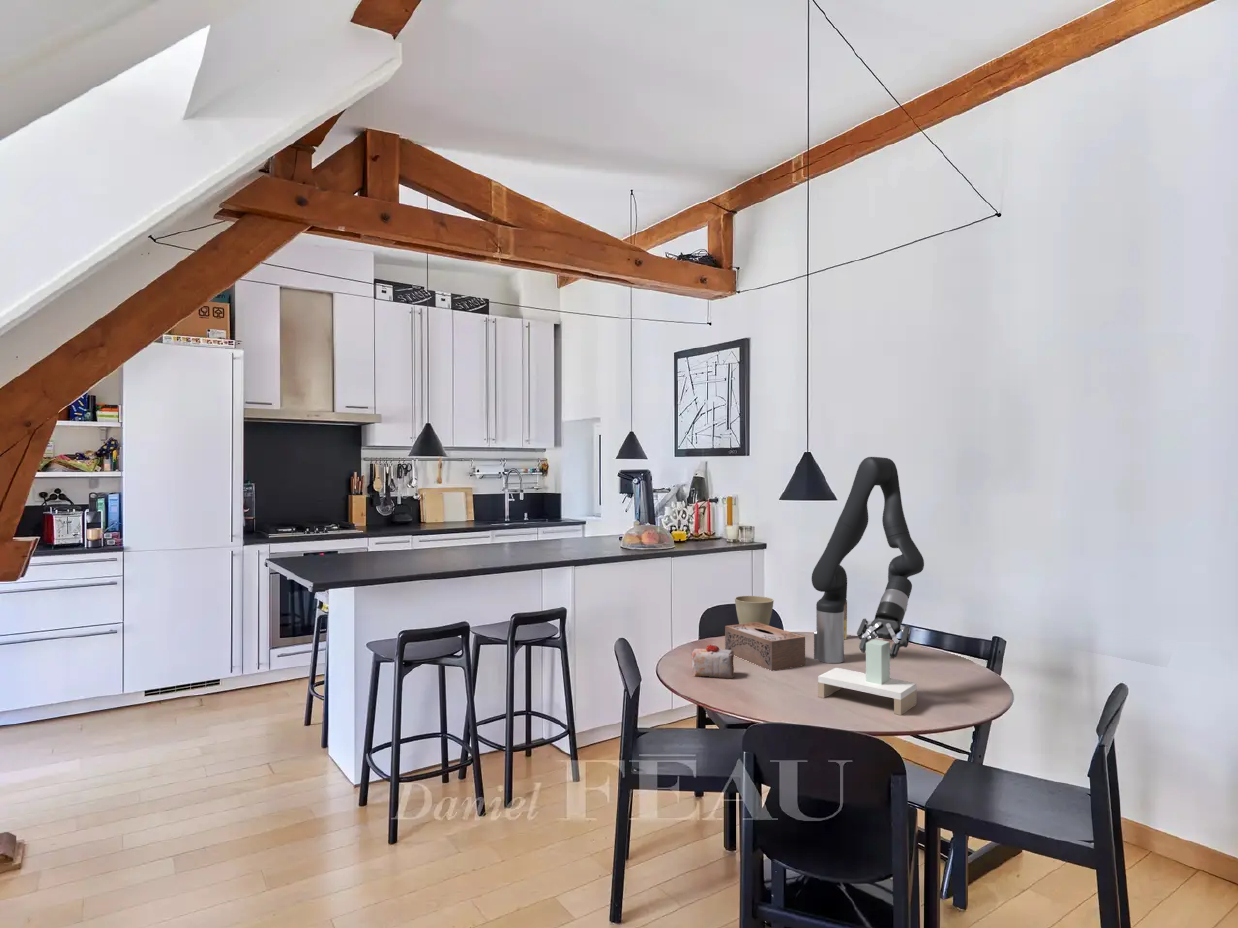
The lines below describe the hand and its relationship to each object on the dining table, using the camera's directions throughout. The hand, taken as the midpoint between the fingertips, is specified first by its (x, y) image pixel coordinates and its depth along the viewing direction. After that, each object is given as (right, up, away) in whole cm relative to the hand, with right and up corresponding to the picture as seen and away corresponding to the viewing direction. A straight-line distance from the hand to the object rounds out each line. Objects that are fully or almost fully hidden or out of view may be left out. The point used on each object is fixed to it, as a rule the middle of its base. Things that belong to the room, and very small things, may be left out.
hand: (876, 653), depth 207 cm
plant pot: (-21, -14, +74) cm, 78 cm away
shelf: (-3, -14, +1) cm, 14 cm away
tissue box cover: (-23, -14, +46) cm, 53 cm away
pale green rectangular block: (0, -8, 0) cm, 8 cm away
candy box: (+10, -14, +75) cm, 77 cm away
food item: (-44, -14, +26) cm, 53 cm away
